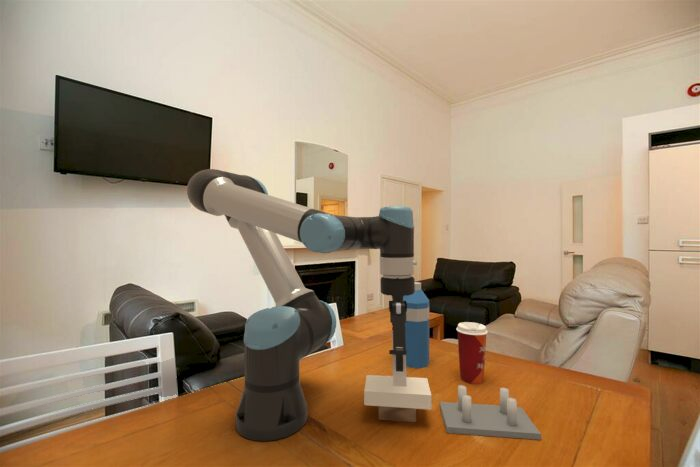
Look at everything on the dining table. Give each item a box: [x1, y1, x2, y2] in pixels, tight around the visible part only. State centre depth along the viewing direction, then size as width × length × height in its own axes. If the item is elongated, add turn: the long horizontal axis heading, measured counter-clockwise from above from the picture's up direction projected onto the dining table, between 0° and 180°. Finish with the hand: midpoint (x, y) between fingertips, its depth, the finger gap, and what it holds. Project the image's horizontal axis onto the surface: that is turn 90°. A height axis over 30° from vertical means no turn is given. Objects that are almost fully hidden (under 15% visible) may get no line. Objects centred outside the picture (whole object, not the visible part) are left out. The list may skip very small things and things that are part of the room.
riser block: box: [378, 406, 417, 423], centre depth 72 cm, size 8×4×4 cm, turn 83°
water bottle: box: [403, 281, 430, 369], centre depth 102 cm, size 9×9×25 cm
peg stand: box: [439, 384, 542, 441], centre depth 70 cm, size 18×10×6 cm, turn 83°
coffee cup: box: [455, 321, 488, 385], centre depth 91 cm, size 8×8×15 cm
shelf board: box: [363, 374, 432, 411], centre depth 72 cm, size 14×8×3 cm, turn 83°
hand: (398, 371), depth 72 cm, fingers open, 13 cm apart
